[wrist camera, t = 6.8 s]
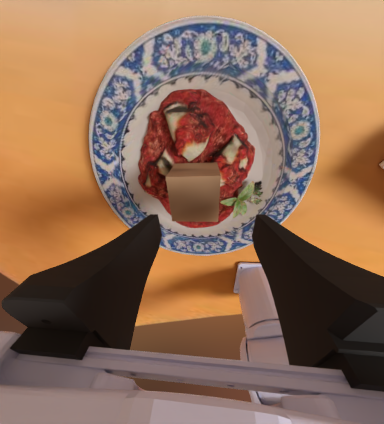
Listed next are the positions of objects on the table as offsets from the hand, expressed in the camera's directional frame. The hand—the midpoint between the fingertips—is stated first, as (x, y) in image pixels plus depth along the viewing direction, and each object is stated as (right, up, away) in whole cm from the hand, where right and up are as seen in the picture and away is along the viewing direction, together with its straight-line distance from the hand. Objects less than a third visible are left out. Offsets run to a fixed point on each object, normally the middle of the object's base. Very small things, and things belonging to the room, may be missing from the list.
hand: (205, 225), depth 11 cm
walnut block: (-1, +4, +6) cm, 7 cm away
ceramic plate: (0, +6, +9) cm, 10 cm away
